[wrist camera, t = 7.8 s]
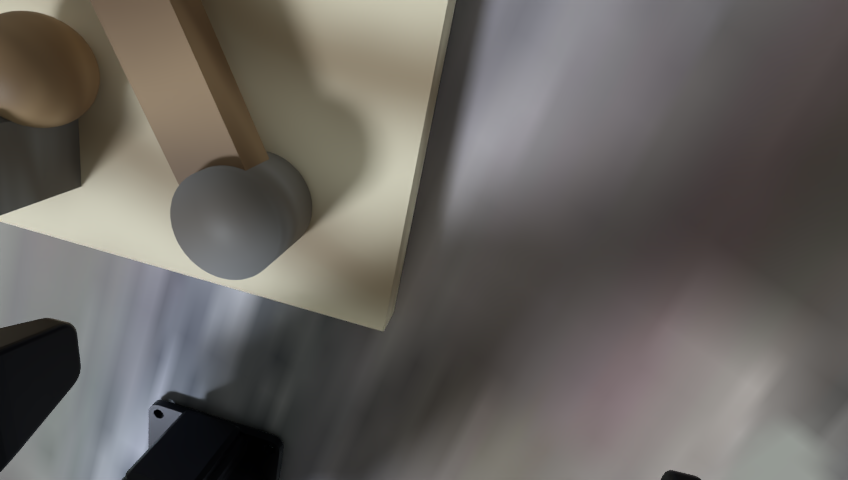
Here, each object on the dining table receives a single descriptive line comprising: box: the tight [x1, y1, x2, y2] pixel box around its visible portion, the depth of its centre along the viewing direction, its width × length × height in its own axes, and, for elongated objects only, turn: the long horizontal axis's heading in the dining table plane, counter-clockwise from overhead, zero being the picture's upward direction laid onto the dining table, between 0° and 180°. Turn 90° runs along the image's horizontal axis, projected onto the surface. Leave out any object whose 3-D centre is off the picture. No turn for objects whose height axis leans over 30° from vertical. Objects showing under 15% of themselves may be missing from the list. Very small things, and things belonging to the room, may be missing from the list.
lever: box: [90, 0, 312, 280], centre depth 14 cm, size 16×4×10 cm, turn 20°
